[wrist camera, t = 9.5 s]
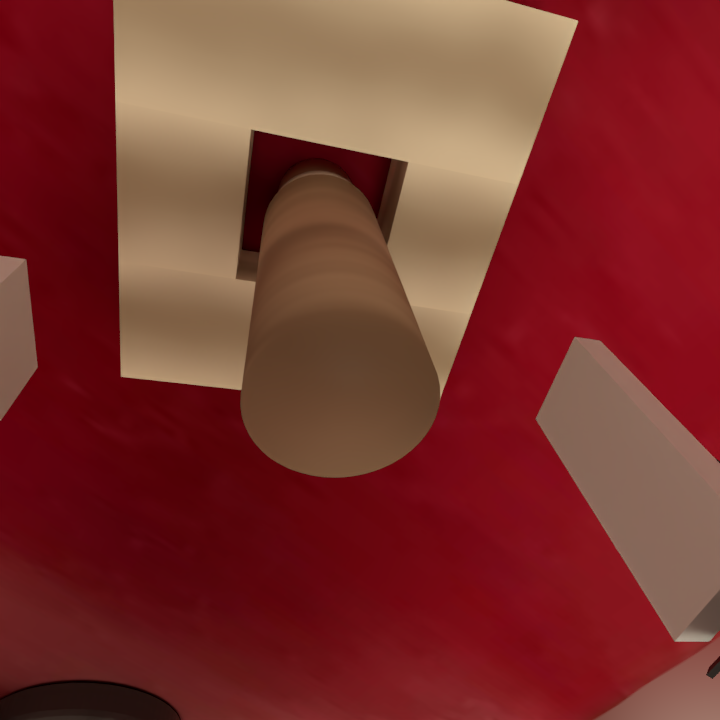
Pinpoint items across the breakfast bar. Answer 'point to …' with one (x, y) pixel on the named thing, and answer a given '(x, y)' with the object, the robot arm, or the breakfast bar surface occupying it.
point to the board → (319, 125)
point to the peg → (332, 335)
